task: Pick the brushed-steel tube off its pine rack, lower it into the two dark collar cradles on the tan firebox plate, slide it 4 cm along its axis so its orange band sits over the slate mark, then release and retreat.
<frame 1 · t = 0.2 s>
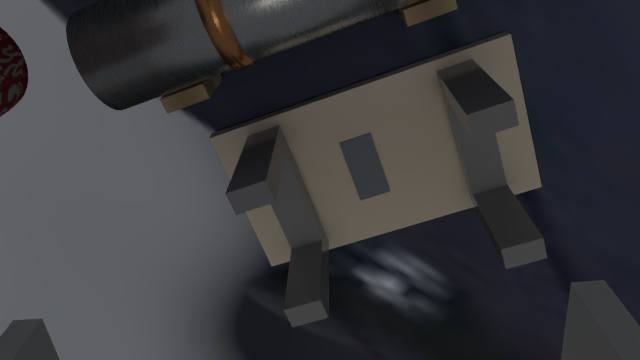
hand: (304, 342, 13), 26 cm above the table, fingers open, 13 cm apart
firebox: (377, 157, 40), on the table
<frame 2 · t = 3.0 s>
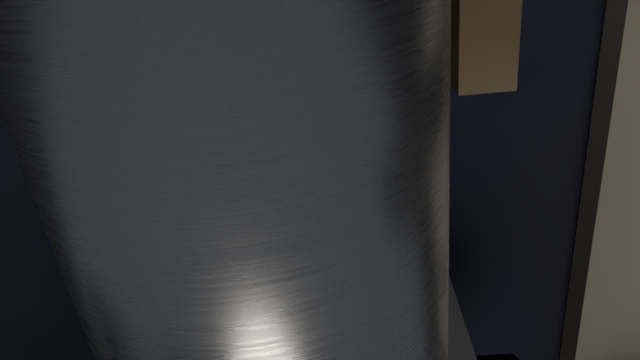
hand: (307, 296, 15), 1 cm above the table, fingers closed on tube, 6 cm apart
rack: (309, 265, 16), on the table
tube: (305, 333, 14), point 3 cm above the table, touching gripper, rack
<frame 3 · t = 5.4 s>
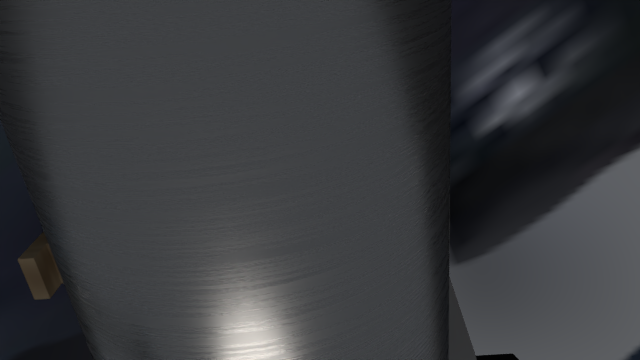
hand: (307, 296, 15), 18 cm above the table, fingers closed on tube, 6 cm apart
rack: (90, 123, 32), on the table
tube: (305, 334, 14), point 20 cm above the table, touching gripper
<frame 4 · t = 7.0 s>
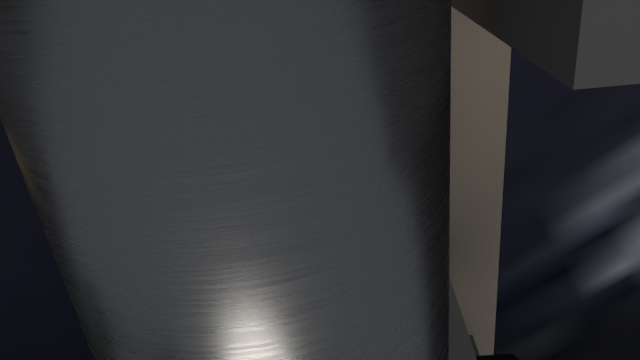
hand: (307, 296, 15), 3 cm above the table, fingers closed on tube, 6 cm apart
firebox: (303, 185, 17), on the table
tube: (305, 333, 14), point 5 cm above the table, touching gripper
when the fingers open (3 cm above the table, at t = 8.3 s): tube drops 1 cm, resting on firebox.
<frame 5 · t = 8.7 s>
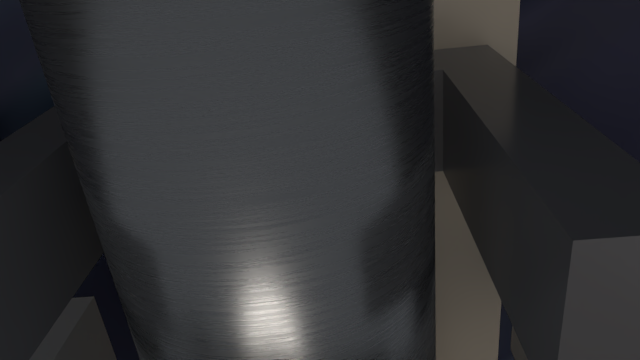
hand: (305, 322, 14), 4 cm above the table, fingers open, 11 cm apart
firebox: (317, 292, 18), on the table
tube: (305, 303, 15), point 3 cm above the table, touching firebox
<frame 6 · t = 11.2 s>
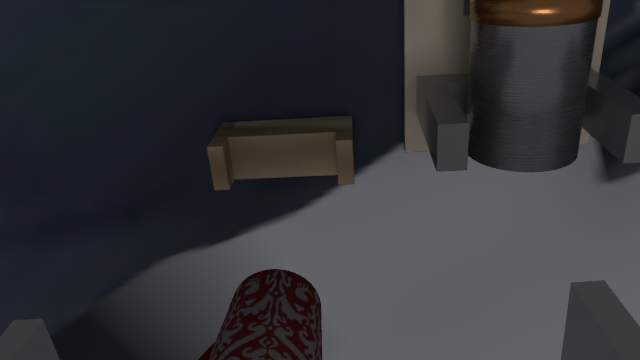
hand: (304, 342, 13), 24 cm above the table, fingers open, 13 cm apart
rack: (276, 22, 33), on the table
mug: (259, 307, 44), on the table
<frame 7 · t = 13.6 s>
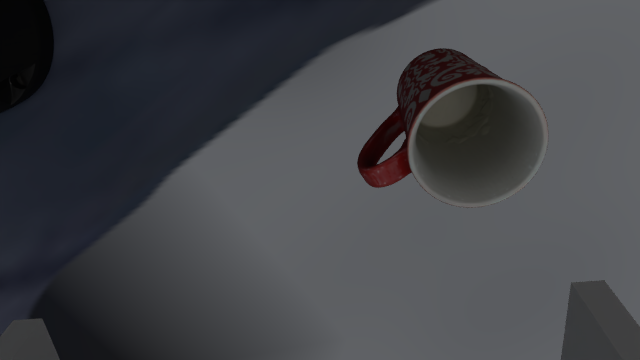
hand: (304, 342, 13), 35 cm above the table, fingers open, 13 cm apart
mug: (419, 96, 46), on the table
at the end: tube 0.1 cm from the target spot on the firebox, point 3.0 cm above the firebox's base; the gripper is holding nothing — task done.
